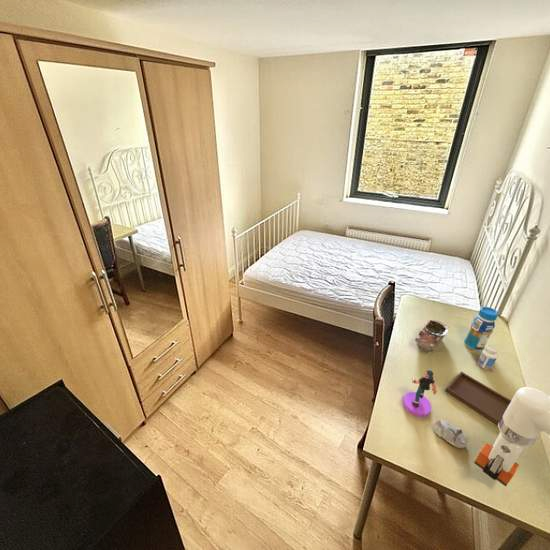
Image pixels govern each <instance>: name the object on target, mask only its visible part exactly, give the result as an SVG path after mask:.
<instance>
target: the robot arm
mask: <svg viewBox="0 0 550 550" xmlns="http://www.w3.org/2000/svg"><path fill="white" fill-rule="evenodd" d="M510 400H511V402H510V404H509V406H508V407H507V409H506V411H505V413H504V414H503V416H502V418H501V420H500V421H499V423H498V426H497V427H498V430H499V434H498V435H497V437H496V439H495V441H494V443H493V445H492V446H493V448H492V450H491V452H490V455H489V460H490V462H487V464H486V466H485V467H484V469H482V472H483V473H484V474H486V475H487V476H488V477H490V478H491V479H492V480H493V481H497V480H496V479H497V477H498V476H499V474H500V473H501V469H502V468H503V470H504V471H505V472H509V471H510V469H511V468H512V466H513V465H514V463H515V462H516V463H517V460H518V459H519V457H520V455H521V454H522V452H523V451H524V449H525V448H529V447H532V446H533V445H534V443H535V442H536V441H537V439H538V438H539V437H540V436H541V434H542V433H543V432H544V433H546V434H547V435H549V436H550V395H548V394H547V393H545V392H544V391H542V390H540V389H537V388H534V387H530V386H529V387H528V386H524V387H521V388H519V389H517V391H516V392H515V394H514V395H513V397H512V398H511V399H510ZM493 461H494V463H493V464H491V463H492V462H493ZM499 466H500V467H499ZM498 467H499V468H498Z"/></svg>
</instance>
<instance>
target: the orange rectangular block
mask: <svg viewBox="0 0 550 550" xmlns="http://www.w3.org/2000/svg"><path fill="white" fill-rule="evenodd" d="M492 448H493V445H491V444H490V443H488V442H485V443H484V445H483V446H482V448H481V450H480V451H479V453H478V454H477V457H476V458H475V460H474V462H473V464H475V465H476V466H477V467H479V468H480V469H481V470H483V469H484V467H485V466H486V464H487V462H490V460H489V455H490V452H491V450H492ZM493 463H494V461H493V462H492V463H491V464H493ZM499 467H500V466H499ZM499 467H498V468H499ZM518 467H519V463H517V461H516V462H515V463H514V465H513V466H512V468H511V469H510V471H509V472H505V471H504V470H503V468H502V469H501V473H500V474H499V476H498V477H497V479H496V480H495V481H497V482H498V483H500V484H502V485H503V486H504V487H507V486H508V484H509V483H510V482H511V480H512V479H513V477H514V476H515V474H516V472H517V470H518Z"/></svg>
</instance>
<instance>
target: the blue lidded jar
mask: <svg viewBox="0 0 550 550" xmlns="http://www.w3.org/2000/svg"><path fill="white" fill-rule="evenodd" d="M498 316H499V312H498V311H497V310H496V309H494V308H492V307H490V306H482V307H480V309H479V310H478V313H477V315H476V316H475V317H474V318H473V319H472V320H473V321H472V322H471V323H470V327H469V329H468V332H467V334H466V336H465V337H464V340H463V343H464V345H465V346H466V347H467V348H469V349H471V350H473V351H478V352H480V351H483V350H484V349H485V348H486V346H487V345H486V344H487V342H488V340H489V338H490V337H491V335H492V334H493V332H494V329H495V327H496V324H495V321H496V320H497V319H498Z"/></svg>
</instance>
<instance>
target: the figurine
mask: <svg viewBox="0 0 550 550" xmlns="http://www.w3.org/2000/svg"><path fill="white" fill-rule="evenodd" d="M411 381H412V384H418V387H417V390H416V391H408V392H407V393H405V394H404V396H403V399H402V405H403V407H404V409H405V411H407V413H409V414H411V415H412V416H414V417H416V418H427V417H428V416H429V415H430V413H431V411H432V404H431V403H430V400H429V399H428V398H427V397H426V396H425V391H430V390H431V392H432V394H433V395H434V396H435V395H436V394H437V393H438V389H437V386H436V385H437V384H436V381H435V380H434V371H433V370H432V369H427V370H426V372H425V374H424V376H422V377H421V378H419V379H418V380H417V379H416V378H413V377H412V378H411ZM430 386H432V387H430ZM431 388H432V389H431Z"/></svg>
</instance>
